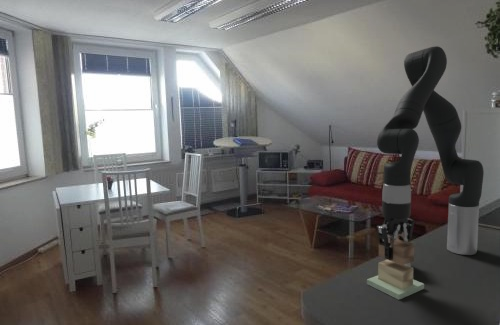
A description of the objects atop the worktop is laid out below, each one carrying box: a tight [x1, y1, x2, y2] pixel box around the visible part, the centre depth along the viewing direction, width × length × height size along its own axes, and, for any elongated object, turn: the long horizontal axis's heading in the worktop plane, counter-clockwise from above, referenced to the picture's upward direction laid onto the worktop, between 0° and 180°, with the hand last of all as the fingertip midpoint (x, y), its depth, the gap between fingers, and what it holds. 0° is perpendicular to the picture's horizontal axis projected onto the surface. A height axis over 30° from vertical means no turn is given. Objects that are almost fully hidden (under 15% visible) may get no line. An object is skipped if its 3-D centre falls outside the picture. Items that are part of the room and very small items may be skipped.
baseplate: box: [366, 274, 425, 300], centre depth 103 cm, size 11×11×2 cm
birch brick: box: [377, 259, 414, 289], centre depth 103 cm, size 5×8×5 cm, turn 32°
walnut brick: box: [378, 238, 415, 265], centre depth 102 cm, size 5×8×5 cm, turn 30°
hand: (395, 256), depth 102 cm, fingers closed on walnut brick, 5 cm apart
